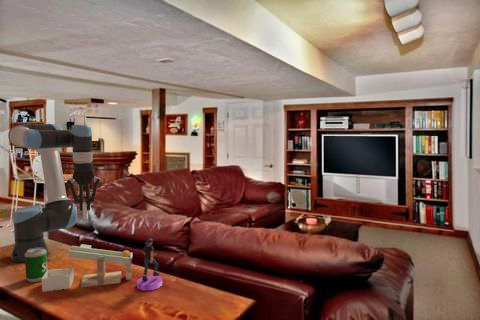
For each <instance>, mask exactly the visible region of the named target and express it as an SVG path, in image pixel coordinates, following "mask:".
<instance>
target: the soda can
mask: <svg viewBox="0 0 480 320" xmlns="http://www.w3.org/2000/svg"><path fill="white" fill-rule="evenodd" d="M24 263H25V264H24V266H25V279H26V281H28V282H29V283H38V282H42V277H43V276H44V274H45V273H46V271H47V270H49V269H48V256H47V251H46V250H45V249H44V248H41V247H38V248H32V249H29V250H27V252H26V253H25V262H24Z"/></svg>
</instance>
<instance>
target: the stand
mask: <svg viewBox="0 0 480 320" xmlns="http://www.w3.org/2000/svg"><path fill="white" fill-rule="evenodd" d="M96 263H97V264H96V268H97V270H96V271H97V273H92V274H91V273H90V274H84V275H83V277H82V280H81V282H80V288H86V287H87V288H89V287H97V286H105V285H113V284H120V283H121V281H122V271H121V270H119V271H109V272H106V262H104V261H103V256H100V257H97V261H96ZM124 265H125V268H124V269H125V280H126V281H129V280H130V281H131V280H132V264H131V265H130V264H124Z"/></svg>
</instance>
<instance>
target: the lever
mask: <svg viewBox="0 0 480 320" xmlns="http://www.w3.org/2000/svg"><path fill="white" fill-rule="evenodd" d="M122 252H123V251H115V250H106V249H100V248H99V249H98V248H92V245H91V244H90V245H89V244H83V243H81V244H80V246H77V245H71V248H70V249H69V250H68V255H67V257H68V258H72V259H80V260H91V261H96V262H97V257H100V256H103V261H104V262H105V263H114V264H120V265H121V264H124V265H125V264H130V265H131V266H132V262H133V252H130V257H129V258H128V257H121V254H122Z"/></svg>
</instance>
